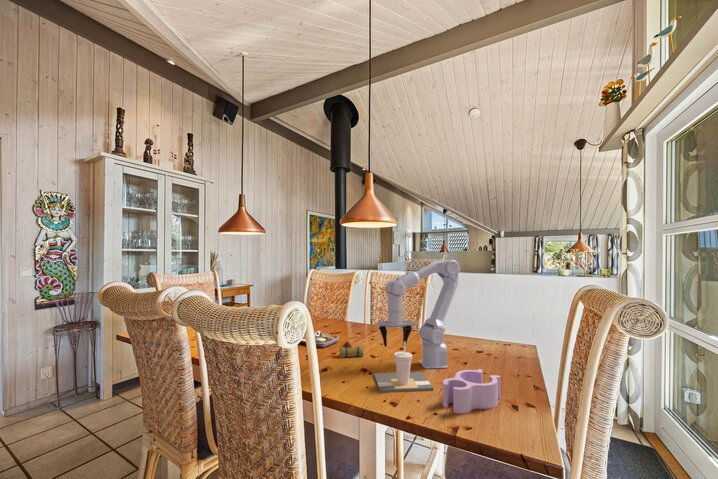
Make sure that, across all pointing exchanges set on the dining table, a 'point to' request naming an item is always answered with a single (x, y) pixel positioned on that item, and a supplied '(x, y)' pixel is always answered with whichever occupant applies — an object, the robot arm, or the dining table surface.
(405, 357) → the smoothie
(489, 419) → the dining table surface
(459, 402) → the clip
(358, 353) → the gavel
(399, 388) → the board
